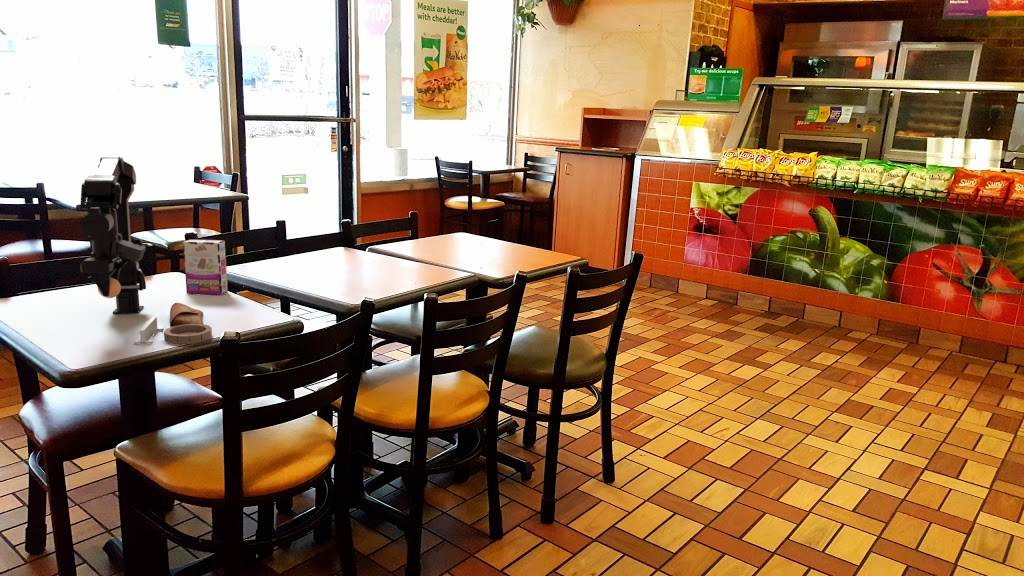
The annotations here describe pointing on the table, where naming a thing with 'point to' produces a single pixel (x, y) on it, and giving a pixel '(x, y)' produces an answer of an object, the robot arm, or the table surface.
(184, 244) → the candy bar box
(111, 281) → the ball
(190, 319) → the sunglasses case
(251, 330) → the table surface
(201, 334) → the saucer
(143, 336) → the divider
